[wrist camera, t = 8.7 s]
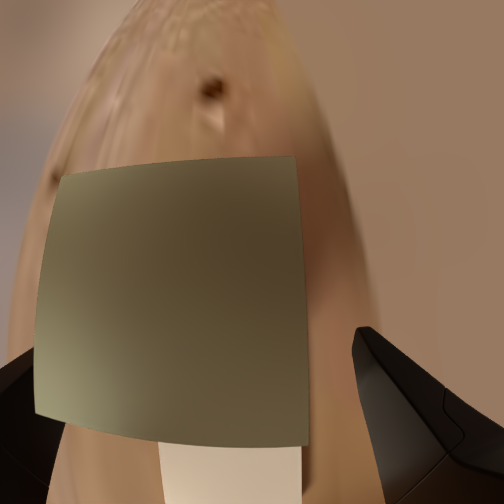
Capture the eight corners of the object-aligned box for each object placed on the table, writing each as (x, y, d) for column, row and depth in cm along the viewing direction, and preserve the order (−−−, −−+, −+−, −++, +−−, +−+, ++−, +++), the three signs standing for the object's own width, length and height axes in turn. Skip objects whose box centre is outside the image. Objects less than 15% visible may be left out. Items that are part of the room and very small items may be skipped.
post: (275, 376, 15) (308, 446, 4) (191, 376, 16) (35, 413, 4) (273, 294, 17) (295, 156, 5) (192, 295, 17) (61, 176, 5)
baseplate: (299, 501, 14) (301, 511, 13) (171, 499, 14) (164, 508, 13) (289, 252, 19) (291, 244, 18) (162, 258, 19) (155, 251, 18)
